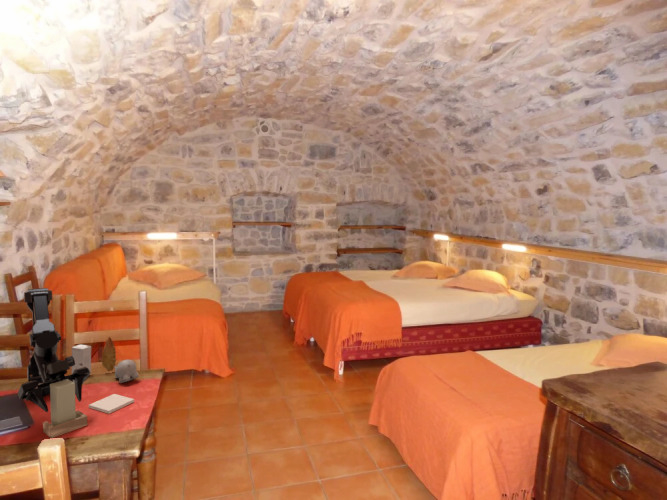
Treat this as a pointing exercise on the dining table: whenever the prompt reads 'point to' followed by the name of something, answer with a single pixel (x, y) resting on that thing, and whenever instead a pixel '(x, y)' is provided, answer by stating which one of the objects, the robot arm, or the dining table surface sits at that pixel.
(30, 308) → the robot arm
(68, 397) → the sage block
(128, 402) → the ceramic tile
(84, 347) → the skincare box
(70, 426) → the birch stall
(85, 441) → the dining table surface
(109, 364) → the stone tool
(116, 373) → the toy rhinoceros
